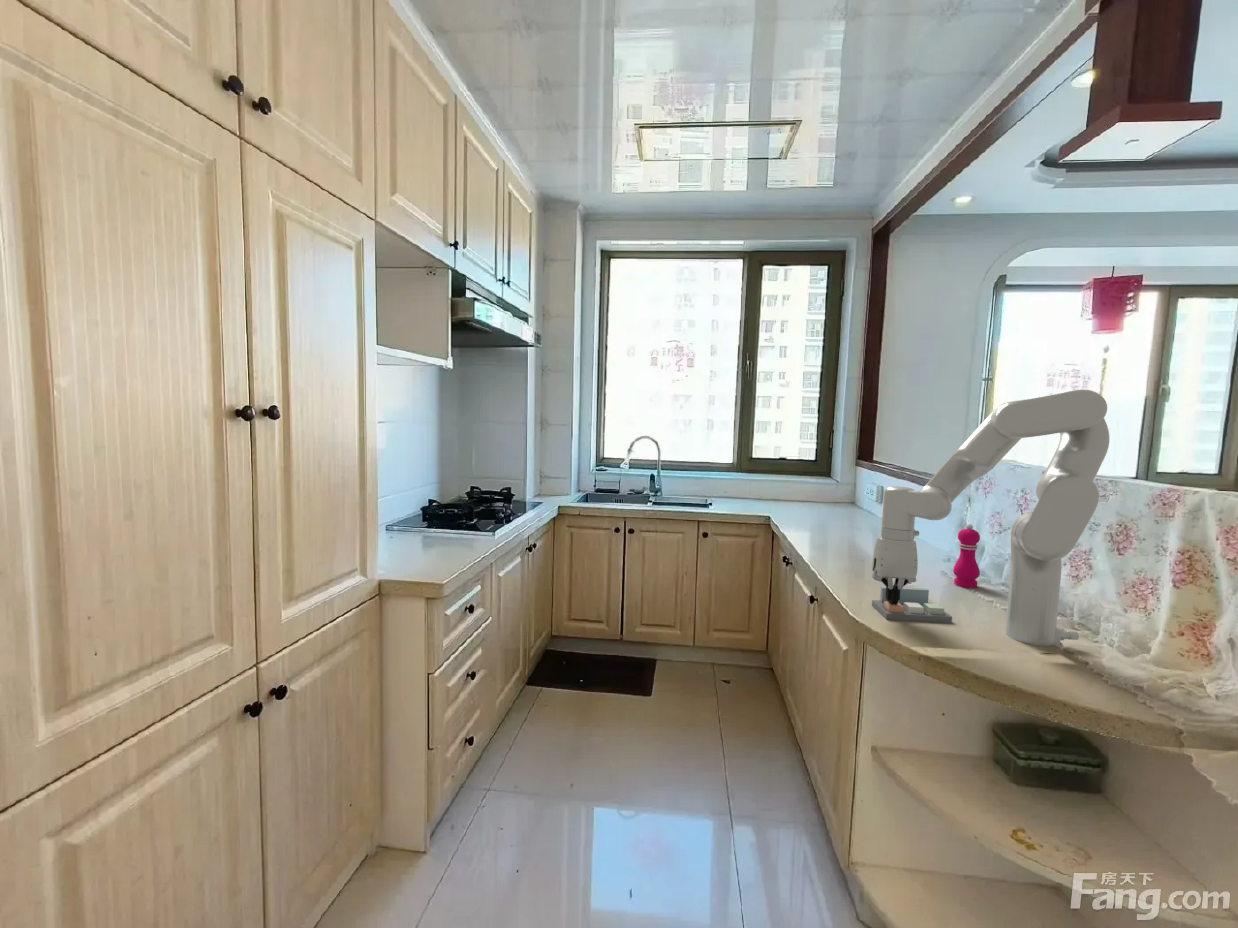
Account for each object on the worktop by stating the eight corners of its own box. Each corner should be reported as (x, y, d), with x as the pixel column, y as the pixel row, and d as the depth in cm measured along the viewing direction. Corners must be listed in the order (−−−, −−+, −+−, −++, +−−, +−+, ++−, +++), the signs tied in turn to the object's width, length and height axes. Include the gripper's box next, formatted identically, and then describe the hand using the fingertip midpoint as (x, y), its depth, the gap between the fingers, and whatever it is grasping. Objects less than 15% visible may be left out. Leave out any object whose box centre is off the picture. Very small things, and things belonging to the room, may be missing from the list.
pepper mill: (983, 589, 171) (987, 526, 169) (957, 587, 172) (961, 525, 171) (973, 582, 178) (977, 522, 176) (948, 581, 179) (952, 521, 178)
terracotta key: (897, 612, 145) (898, 601, 144) (903, 617, 141) (903, 606, 141) (883, 612, 145) (883, 601, 145) (888, 617, 142) (889, 605, 141)
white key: (917, 613, 144) (917, 602, 144) (923, 618, 141) (923, 607, 140) (902, 613, 145) (903, 602, 144) (908, 618, 141) (909, 606, 141)
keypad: (932, 613, 149) (933, 588, 148) (951, 628, 138) (953, 601, 138) (871, 610, 150) (872, 586, 150) (885, 624, 140) (887, 598, 139)
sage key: (937, 614, 144) (937, 603, 143) (943, 619, 140) (944, 608, 140) (922, 614, 144) (923, 603, 144) (928, 619, 140) (929, 607, 140)
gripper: (920, 532, 144) (915, 599, 146) (862, 529, 146) (858, 596, 147) (934, 538, 137) (928, 609, 138) (872, 536, 138) (867, 605, 140)
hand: (892, 602), depth 143 cm, fingers closed
